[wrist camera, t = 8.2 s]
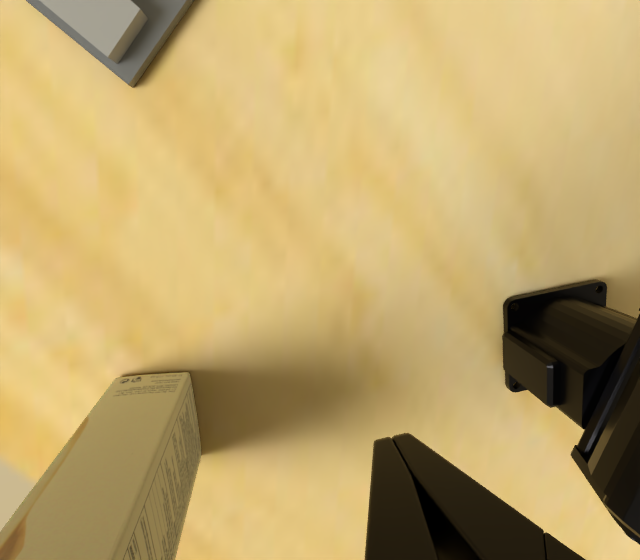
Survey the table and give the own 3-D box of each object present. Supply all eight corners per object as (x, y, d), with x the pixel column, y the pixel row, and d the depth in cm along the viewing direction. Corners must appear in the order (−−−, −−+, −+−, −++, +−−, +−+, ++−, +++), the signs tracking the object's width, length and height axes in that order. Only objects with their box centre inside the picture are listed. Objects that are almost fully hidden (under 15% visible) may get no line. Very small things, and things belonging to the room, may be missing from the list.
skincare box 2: (114, 374, 21) (-91, 623, 9) (192, 369, 21) (91, 598, 10) (132, 467, 23) (-21, 774, 11) (204, 459, 23) (130, 747, 11)
